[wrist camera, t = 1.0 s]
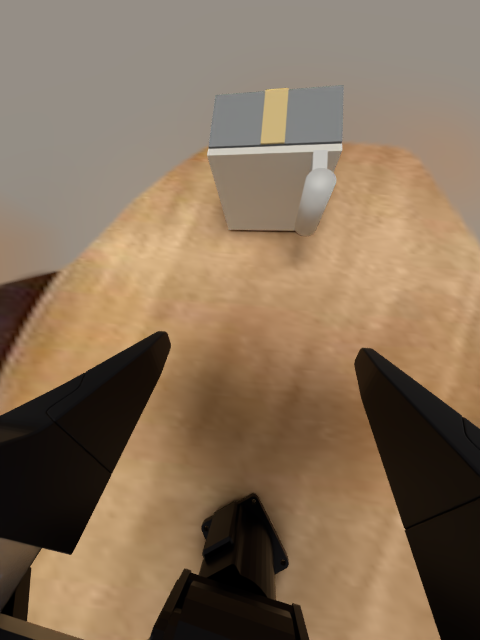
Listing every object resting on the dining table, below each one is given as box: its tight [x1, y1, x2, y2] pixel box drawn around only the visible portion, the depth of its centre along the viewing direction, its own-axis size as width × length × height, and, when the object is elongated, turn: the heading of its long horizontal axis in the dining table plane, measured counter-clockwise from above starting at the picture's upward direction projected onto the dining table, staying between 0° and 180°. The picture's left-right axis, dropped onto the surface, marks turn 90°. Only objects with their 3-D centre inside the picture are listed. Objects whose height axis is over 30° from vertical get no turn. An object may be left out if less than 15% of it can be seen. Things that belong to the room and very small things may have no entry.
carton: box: [209, 85, 343, 149], centre depth 20 cm, size 5×10×10 cm, turn 85°
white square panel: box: [207, 144, 342, 236], centre depth 19 cm, size 4×10×10 cm, turn 85°
